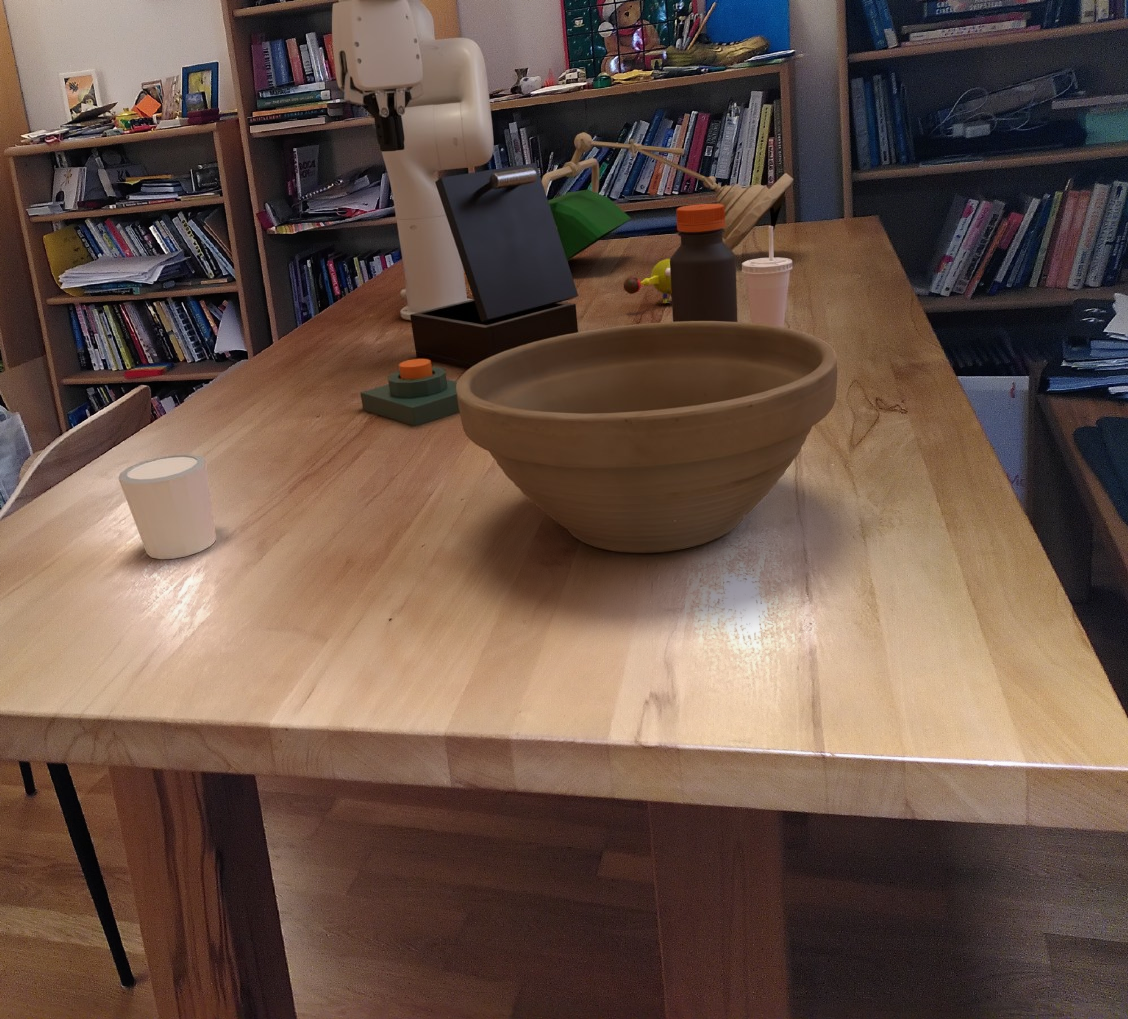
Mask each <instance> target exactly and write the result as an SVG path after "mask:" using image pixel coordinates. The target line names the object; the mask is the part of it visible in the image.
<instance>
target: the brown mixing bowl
mask: <svg viewBox="0 0 1128 1019" xmlns="http://www.w3.org/2000/svg"><path fill="white" fill-rule="evenodd" d="M456 382H457V385H456V391H457V401H458V406H459V411H460V412H459V416H460V420H461V426H462V430H463V432H464V434H465V436H466V437H467V438H468V439H469V440H470V441H471V442H472V443H473V444H475V445H476V446H478V447H479V448H481V449H483V450H485V451H487V452H489V453H490V455H491V457H492V459H494V460H495V462H496V464H497V466H499V468H500V469H501V470H502V472H503V473H504V475H505V476H506V477H507V479H509V480H510V481H511V482H512V483H513V484H514V485H515V486H516V487H517V488H518V489H519V490H520V492H521V493H523V495H524V496H525V497H527V498H528V499H529V500H530V501H531V502H532V503H533V504H534V505H536V506H537V508H539V509H540V510H541V511H542V512H544V513H545V514H546V515H547V516H548V517H550V518H551V519H552V520H554V521H555V522H556V523H558V524H559V525H560V526H562V527H563V528H565V529H566V530H567V531H568V533H570V535H572V536H573V537H574V538H575V539H577V540H578V541H580V542H581V543H584V544H585V545H588V546H591V547H593V548H597V549H601V550H606V551H611V552H618V553H627V554H628V553H629V554H653V553H666V552H674V551H679V550H684V549H689V548H694V547H697V546H700V545H703V544H707V543H711V542H712V541H714V540H717V539H720V538H721V537H723V536H725V535H726V534H728V533H730V532H731V531H733V530H734V529H735V528H736V527H737V526H739V524H740V523H741V522H742V521H743V519H744V517H745V516H746V515H747V514H748V513H749V512H751V510H752V509H753V508H754V507H755V506H757V505H758V504H759V503H760V502H761V501H762V499H763V498H764V497H765V496H767V495H768V494H769V492H770V491H771V490H772V488H774V486H775V485H776V484H777V483H778V482H779V480H780V479H781V478H782V477H783V475H785V473H786V471H787V469H788V468H789V467H791V464H792V463H793V462H794V460H795V459H796V458H797V457H798V455H799V454H800V453H801V450H802V447H803V446H804V445H805V443H806V441H807V437H808V435H809V434H810V433H811V431H812V429H813V426H815V425H817V424H819V422H821V421H822V420H824V418H826V417H827V416H828V414H830V412H831V411H832V410H833V408H834V406H835V402H836V399H837V387H838V386H837V385H838V384H837V383H838V355H837V352H836V350H835V349H834V348H833V346H832V345H830V344H829V343H828V342H827V341H825V340H824V339H821V338H819V337H818V336H815V335H812V334H810V333H807V332H804V331H801V330H797V329H792V328H788V327H785V326H784V327H779V326H774V325H767V324H756V323H752V322H742V321H738V322H724V321H683V322H673V321H661V322H648V323H647V322H646V323H636V324H627V325H618V326H609V327H603V328H597V329H590V330H589V329H588V330H583V331H578V333H572V334H567V335H562V336H557V337H553V338H548V339H544V340H540V341H536V342H532V343H529V344H526V345H522V346H519V347H516V348H513V349H510V350H507V351H504V352H501V353H499V354H496V355H494V356H492V357H489V358H487V359H485V360H483V361H481V362H479V363H478V364H476V365H474V366H473V367H471V368H470V369H466V371H465V372H464V373H463V374H462V375H461V376H460V377H459V378H458V380H457V381H456Z"/></svg>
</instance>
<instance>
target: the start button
mask: <svg viewBox="0 0 1128 1019" xmlns="http://www.w3.org/2000/svg"><path fill="white" fill-rule="evenodd" d="M432 367H433V366H432V361H430V360H428V359H420V358H413V359H408V360H404V361H402V362H400V363H399V364H398V368H399V371H400V376H401V379H403V380H413V379H420V378H425V377H429V376H432V375H433V374H432Z"/></svg>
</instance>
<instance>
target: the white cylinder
mask: <svg viewBox="0 0 1128 1019" xmlns="http://www.w3.org/2000/svg"><path fill="white" fill-rule="evenodd" d="M117 480H118V481H119V484H120V487H121V490H122V492H123V494H124V497H125V500H126V502H127V505H128V507H129V510H130V513H131V515H132V519H133V521H134V524H135V527H136V528H137V532H138V534H139V537H140V539H141V542H142V545H143V547H144V549H145V552H146V554H147V555H148V556H149V557H150V558H153V559H157V560H173V559H174V560H175V559H179V558H183V557H184V558H185V557H190V556H192V555H194V554H198V553H201V552H203V551H205V550H206V549H209V548H210V547H211V546H212V545H213V544H214V543H215V542H216V539H217V534H216V528H215V519H214V513H213V504H212V498H211V491H210V483H209V475H208V466H207V461H206V458H205V457H203V456H201V455H199V454H190V453H187V454H172V455H171V454H170V455H166V456H160V457H154V458H152V459H147V460H144V461H141V462H139V463H135V464H134V465H131V466H128V467H127V468H125V469H124V470H122V471H121V472H120V473H119V475H118V479H117Z"/></svg>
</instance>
